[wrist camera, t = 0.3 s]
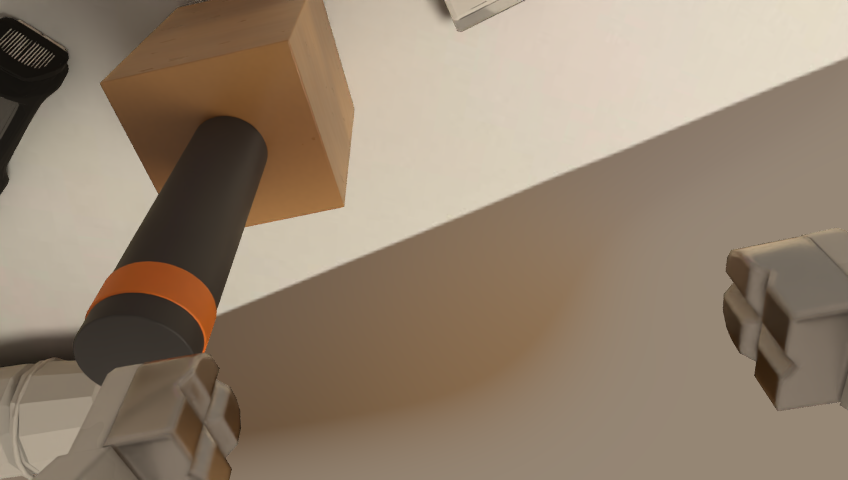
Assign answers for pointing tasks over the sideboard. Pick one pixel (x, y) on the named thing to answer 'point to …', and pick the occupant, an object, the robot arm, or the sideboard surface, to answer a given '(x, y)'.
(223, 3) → the brown block
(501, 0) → the laptop
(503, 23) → the sideboard surface
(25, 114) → the electric trimmer
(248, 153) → the marker
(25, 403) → the water bottle
